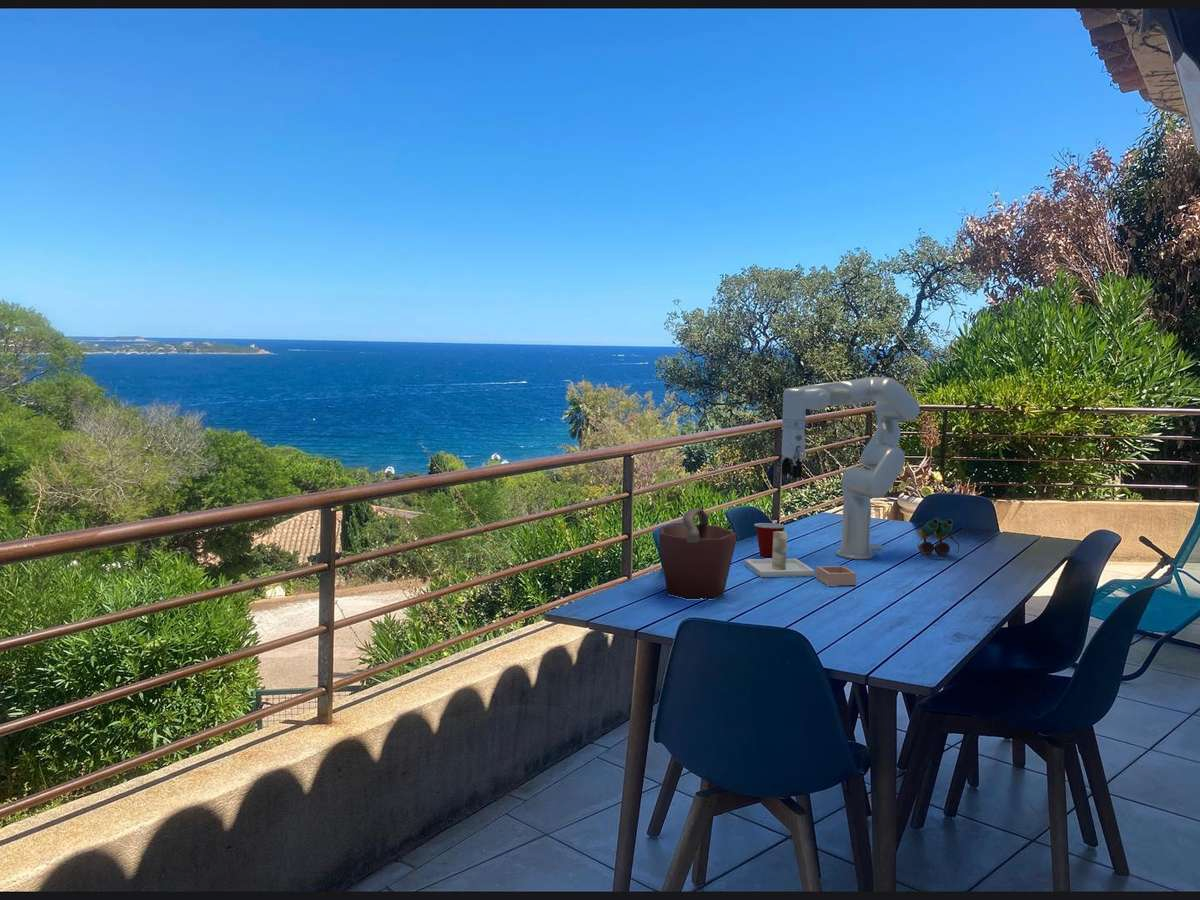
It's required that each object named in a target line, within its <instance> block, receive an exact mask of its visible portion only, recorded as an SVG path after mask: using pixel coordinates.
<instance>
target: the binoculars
mask: <svg viewBox="0 0 1200 900" xmlns="http://www.w3.org/2000/svg"><path fill="white" fill-rule="evenodd" d="M953 524H954V521H953V519H951V518H949V519H946V520H942V519H941V518H939V517H935V518H932V520H928V521H927V522H926V523H925V524H923V526H922V527H921V529H920V530H919V531H918V535H919V537H920V539H919V540H918V542H917V548H918V550H919V552H920V553H921V554H922V555H923V556H925V557H927V558H929V559H931V560H936V561H946V560H951V559H952V558H954V557H956V555H958V553H959V551H960V543H959V542H958V541H957V540H956V539H955V538H954V535H953V534H952V531H951V530H952V529H953ZM933 535H934V537H935V538H936V539H937V540H939V543H938V542H937V543H936V544H933V543H932V542H930V541H927V539H929V537H930V536H933ZM947 536H948V537H949V539H950V540H952V541H954V543H956V544H957V547H958V550H957V551H956V553H955V554H954V555H953V556H951V557H948V558H935V557H932V556H930V555H931V554H932V553H934V552H935V554H937V555H938V556H940V557H944V556H946V555H948V554H949V553H950V551H951V546H950V545H949V544H948V543H947V542H944V541H943V542H942V540H943V539H945V538H946V537H947ZM921 540H923V542H922V543H920V541H921Z"/></svg>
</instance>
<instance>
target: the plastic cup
mask: <svg viewBox="0 0 1200 900" xmlns="http://www.w3.org/2000/svg"><path fill="white" fill-rule="evenodd" d="M754 528H755V530H756V536H757V537H756V538H757V545H758V550H759V557H760V556H761V557H764V558H772V555H773V532H775V531H783V532H785V531H784V529H785V528H786V525H785V524H781V523H772V522H771V523H770V522H767V523H766V522H759V523H754ZM761 557H760V558H761Z"/></svg>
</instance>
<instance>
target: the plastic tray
mask: <svg viewBox="0 0 1200 900" xmlns="http://www.w3.org/2000/svg"><path fill="white" fill-rule="evenodd" d="M745 565H746V566H748V567H749V568H751V569H752V570H753V571H754V572H755V573H757V574H758V575H759V576H760V577H777V576H779V577H780V576H791V577H790V578H802V577H801V576H815V575H816V574H815V573H816V570H814V569H813V567H812V568H811V567H810V566H809V565H807V564H805V563H804V562H802V561H801V560H799V559H798V558H795V557H794V558H786V569H785V570H775V569H772V559H763V558H749V559H744V566H745ZM746 566H745V567H746ZM749 568H748V569H749ZM754 572H753V573H754ZM755 573H754V574H755ZM759 576H758V577H759ZM793 576H794V577H793ZM797 576H799V577H797ZM760 577H759V578H760ZM780 578H781V577H780Z"/></svg>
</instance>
